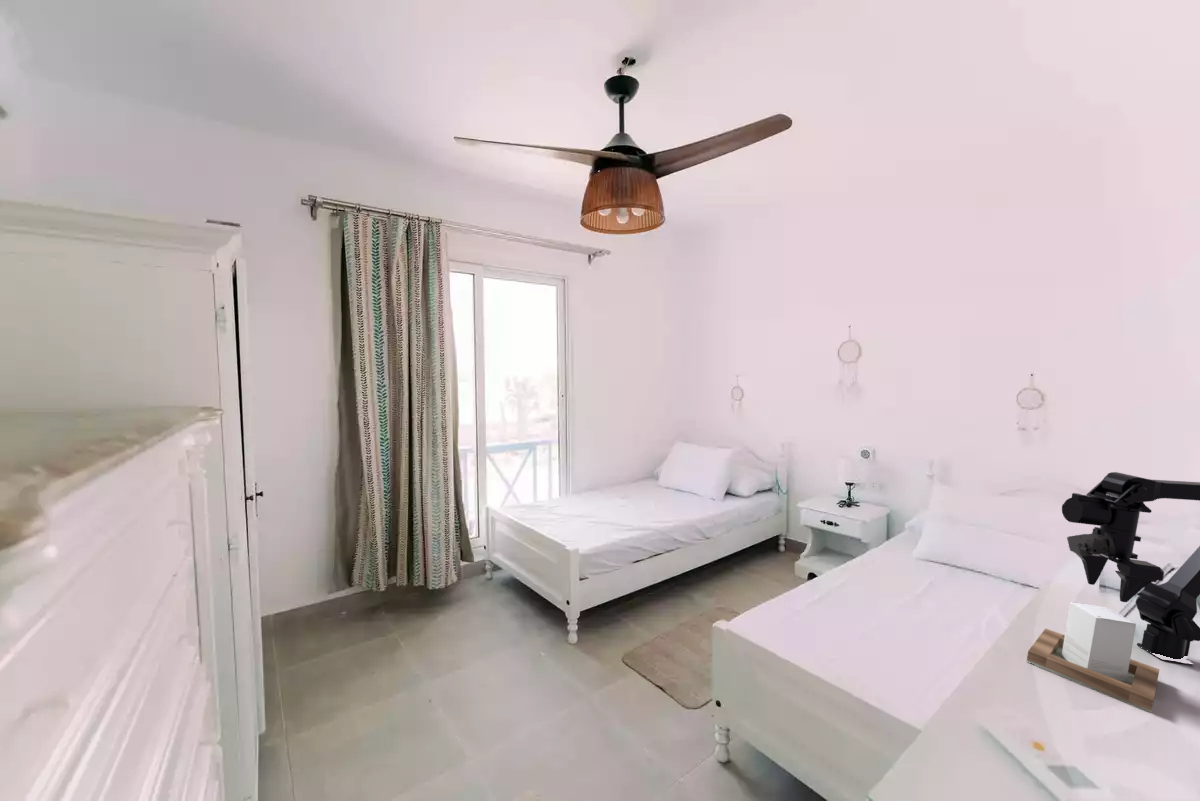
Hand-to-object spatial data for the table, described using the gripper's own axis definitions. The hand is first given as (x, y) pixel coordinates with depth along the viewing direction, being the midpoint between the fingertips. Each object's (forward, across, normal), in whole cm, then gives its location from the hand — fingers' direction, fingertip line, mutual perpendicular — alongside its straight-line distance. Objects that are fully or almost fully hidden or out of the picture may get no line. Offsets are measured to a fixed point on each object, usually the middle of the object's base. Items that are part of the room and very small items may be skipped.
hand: (1106, 592), depth 114 cm
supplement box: (+13, +14, -10) cm, 21 cm away
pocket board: (+13, +14, -10) cm, 22 cm away
